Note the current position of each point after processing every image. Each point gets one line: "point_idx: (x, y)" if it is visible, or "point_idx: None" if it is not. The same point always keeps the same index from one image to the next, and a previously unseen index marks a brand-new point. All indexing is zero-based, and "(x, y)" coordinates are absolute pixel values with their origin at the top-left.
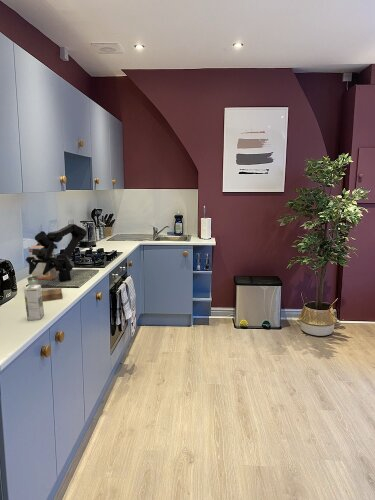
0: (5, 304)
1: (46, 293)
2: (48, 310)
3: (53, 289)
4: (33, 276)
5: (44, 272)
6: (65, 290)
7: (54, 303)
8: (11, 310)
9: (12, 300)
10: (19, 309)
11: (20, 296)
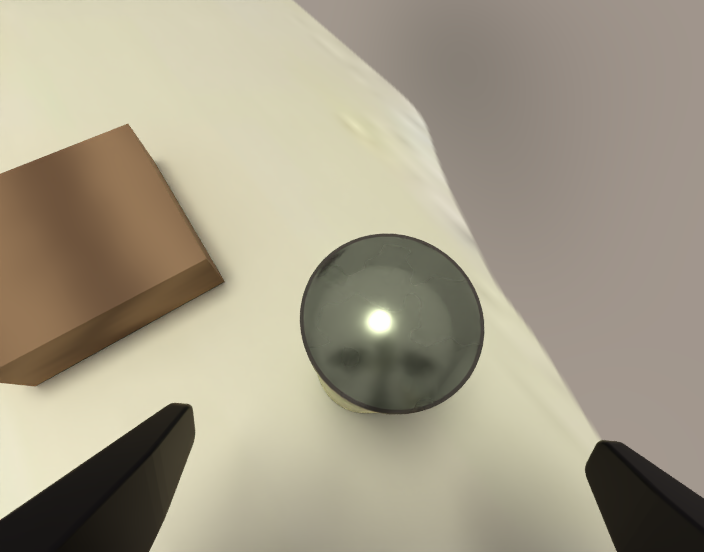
0: (408, 106)
1: (104, 185)
2: (29, 34)
3: (73, 317)
4: (437, 399)
5: (121, 452)
6: None
7: (27, 134)
8: (282, 31)
9: (427, 175)
10: (240, 43)
11: None
